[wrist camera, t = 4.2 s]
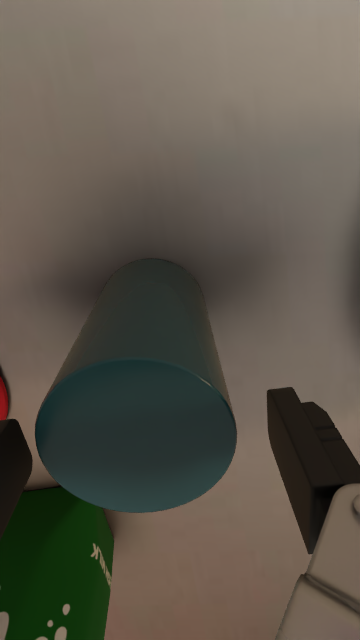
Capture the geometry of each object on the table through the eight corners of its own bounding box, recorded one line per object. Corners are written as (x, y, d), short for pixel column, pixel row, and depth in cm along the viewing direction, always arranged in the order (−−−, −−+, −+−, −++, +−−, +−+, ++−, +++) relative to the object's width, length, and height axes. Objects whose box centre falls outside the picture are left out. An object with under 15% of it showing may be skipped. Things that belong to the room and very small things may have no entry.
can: (112, 359, 22) (64, 522, 12) (89, 265, 19) (5, 371, 9) (208, 348, 22) (242, 503, 12) (199, 251, 19) (230, 344, 9)
